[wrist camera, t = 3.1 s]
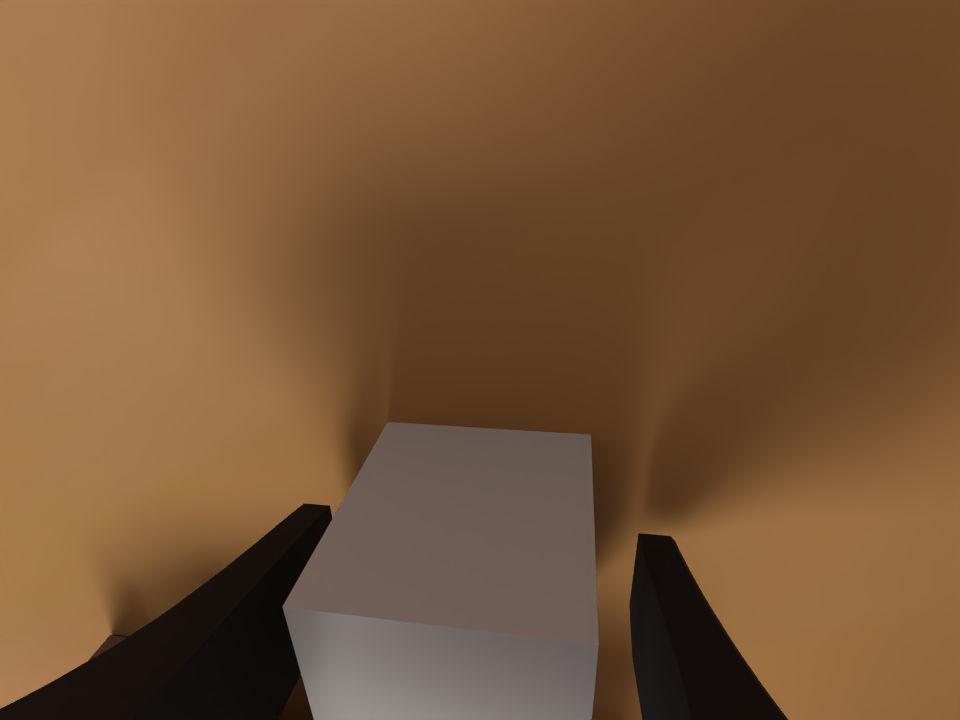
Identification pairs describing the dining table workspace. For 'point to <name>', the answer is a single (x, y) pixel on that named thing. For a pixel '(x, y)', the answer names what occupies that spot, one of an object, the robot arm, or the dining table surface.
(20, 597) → the dining table surface
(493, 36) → the dining table surface
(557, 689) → the white block
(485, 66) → the dining table surface
